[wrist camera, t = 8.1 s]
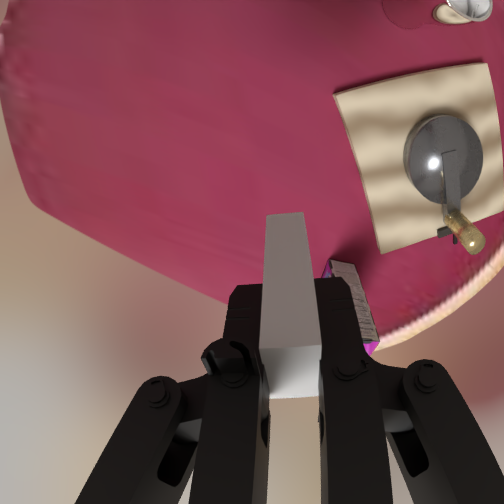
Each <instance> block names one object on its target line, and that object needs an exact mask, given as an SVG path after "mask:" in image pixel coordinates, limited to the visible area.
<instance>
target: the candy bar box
mask: <svg viewBox="0 0 504 504" xmlns="http://www.w3.org/2000/svg"><path fill="white" fill-rule="evenodd" d="M339 276H341V277H342V278H343V279H344V280H345V281H346V283H347V284H348V285H349V286H350V289H351V293H352V297H353V301H354V305H355V310H356V313H357V318H358V322H359V326H360V331H361V335H362V339H363V344H364V347H365V350H366V352H367V353H368V355H369V356H370V355H371V354H372V353H373V351H374V350H375V348H376V347H377V346H378V344H379V343H380V340H379V337H378V333H377V330H376V327H375V323H374V320H373V317H372V314H371V311H370V308H369V305H368V302H367V299H366V296H365V292H364V290H363V287H362V284H361V281H360V278H359V275H358V272H357V269H356V267H355V264H351V263H346V262H340V261H335V260H330V259H329V260H328V262H327V264H326V267H325V270H324V273H323V275H322V278H328V277H339Z"/></svg>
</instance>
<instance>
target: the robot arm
mask: <svg viewBox="0 0 504 504" xmlns="http://www.w3.org/2000/svg"><path fill="white" fill-rule="evenodd" d="M201 360H202V362H203V364H204V366H205V368H206V370H207V372H208V373H207V374H205V375H203V376H201V377H198V378H195V379H191V380H187V381H184V382H179V383H177V382H176V381H175V380H173V379H172V378H169V377H166V376H157V377H153V378H151V379H149V380H147V381H146V382H144V383H143V384H142V386H141V387H140V388H139V389H138V391H137V392H136V394H135V396H134V398H133V399H132V401H131V403H130V405H129V406H128V408H127V410H126V411H125V413H124V415H123V417H122V419H121V420H120V422H119V424H118V426H117V427H116V429H115V431H114V433H113V435H112V436H111V438H110V440H109V442H108V443H107V445H106V447H105V449H104V451H103V452H102V454H101V456H100V458H99V460H98V461H97V463H96V465H95V467H94V469H93V470H92V473H91V474H90V476H89V478H88V480H87V482H86V484H85V485H84V487H83V489H82V491H81V493H80V495H79V497H78V499H77V500H76V502H75V504H178V502H179V500H180V498H181V496H182V494H183V491H184V489H185V487H186V485H187V482H188V480H189V478H190V476H191V473H192V471H193V469H194V471H193V478H192V484H191V491H190V497H189V504H266V503H267V484H268V483H267V482H268V465H269V463H268V462H269V442H270V417H271V415H270V410H269V395H270V398H272V399H275V398H295V397H310V396H319V416H318V422H319V428H320V456H321V504H393V496H392V486H391V476H390V466H389V457H388V449H387V442H386V437H387V439H388V442H389V444H390V446H391V449H392V451H393V453H394V456H395V458H396V460H397V463H398V465H399V468H400V470H401V473H402V475H403V477H404V480H405V482H406V485H407V487H408V490H409V492H410V495H411V497H412V500H413V502H414V504H504V476H503V474H502V471H501V469H500V467H499V465H498V463H497V461H496V459H495V456H494V454H493V453H492V450H491V448H490V446H489V445H488V443H487V440H486V439H485V437H484V435H483V433H482V431H481V429H480V427H479V425H478V423H477V422H476V420H475V418H474V416H473V414H472V413H471V411H470V409H469V407H468V405H467V404H466V402H465V400H464V399H463V397H462V395H461V393H460V392H459V390H458V388H457V387H456V385H455V384H454V382H453V380H452V379H451V377H450V375H449V374H448V372H447V370H445V368H444V367H443V366H442V365H441V364H439V363H437V362H435V361H433V360H427V359H423V360H418V361H415V362H414V363H412V364H411V365H409V366H408V368H399V367H392V366H387V365H383V364H380V363H378V362H376V361H375V360H373V359H372V358H371V357H370V356H369V355H368V353H367V352H366V350H365V347H364V344H363V339H362V335H361V331H360V326H359V322H358V318H357V313H356V310H355V305H354V301H353V297H352V293H351V289H350V286H349V285H348V284H347V283H346V281H345V280H344V279H343V278H342V277H341V276H339V277H328V278H316V279H314V278H313V271H312V264H311V258H310V251H309V244H308V238H307V232H306V226H305V220H304V214H303V212H296V213H285V214H274V215H267V217H266V236H265V255H264V273H263V284H249V285H237V287H236V288H235V289H234V291H233V292H232V294H231V295H230V297H229V303H228V310H227V315H226V321H225V327H224V333H223V338H220V339H219V340H216V341H215V342H212V343H211V344H210V345H209V346H208V347H207V348H206V349H205V350H204V352H203V354H202V356H201Z"/></svg>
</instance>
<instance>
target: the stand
mask: <svg viewBox="0 0 504 504" xmlns="http://www.w3.org/2000/svg"><path fill="white" fill-rule="evenodd" d="M333 97H334V99H335V102H336V105H337V107H338V110H339V113H340V116H341V118H342V121H343V124H344V127H345V130H346V133H347V136H348V139H349V142H350V145H351V148H352V151H353V154H354V158H355V161H356V164H357V167H358V171H359V174H360V178H361V181H362V185H363V188H364V192H365V196H366V199H367V203H368V207H369V211H370V215H371V219H372V223H373V228H374V232H375V236H376V241H377V246H378V249H379V251H380V253H381V254H384V253H387V252H390V251H393V250H396V249H399V248H402V247H405V246H408V245H411V244H414V243H417V242H420V241H422V240H425V239H428V238H431V237H434V236H438V237H439V238H441V237H444V236H447V235H449V234H452V233H453V232H452V231H451V230H450V229H449V228H448V227H447V226H446V225H445V224H444V222H443V209H442V204H437V203H434V202H431V201H429V200H428V199H426V198H425V197H424V196H423V195H422V194H421V193H420V192H419V191H418V190H417V189H416V188H415V187H414V186H413V185H412V184H411V182H410V181H409V179H408V177H407V175H406V172H405V168H404V162H403V154H404V147H405V143H406V140H407V138H408V136H409V133H410V132H411V130H412V129H413V127H414V126H415V125H416V124H417V123H418V122H419V121H420V120H422V119H423V118H425V117H427V116H429V115H433V114H448V115H451V116H453V117H456V118H458V119H461V120H463V121H465V122H466V123H468V124H469V125H470V126H471V127H472V128H473V129H474V130H475V132H476V133H477V135H478V137H479V139H480V142H481V145H482V149H483V166H482V171H481V174H480V177H479V179H478V181H477V183H476V185H475V186H474V188H473V189H472V190H471V191H470V193H469V194H467V195H466V196H465V197H464V198H462V199H461V212H462V213H463V214H464V215H465V216H466V217H467V218H468V219H469V221H470V222H471V223H472V222H475V221H478V220H480V219H483V218H486V217H488V216H491V215H493V214H496V213H499V212H501V211H503V208H504V182H503V159H502V147H501V136H500V128H499V120H498V114H497V107H496V102H495V96H494V91H493V86H492V82H491V77H490V73H489V69H488V65H487V63H480V62H479V63H471V64H463V65H456V66H450V67H444V68H438V69H432V70H427V71H422V72H417V73H412V74H407V75H403V76H398V77H394V78H390V79H385V80H381V81H377V82H374V83H370V84H366V85H362V86H359V87H355V88H352V89H348V90H345V91H341V92H338V93H335V94H333Z"/></svg>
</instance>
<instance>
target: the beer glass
mask: <svg viewBox="0 0 504 504" xmlns="http://www.w3.org/2000/svg"><path fill="white" fill-rule="evenodd" d="M382 4H383V9H384V12H385V14H386V15H387V17H388V18H389V19H390V20H391V21H392V22H393V23H394V24H396V25H397V26H399V27H401V28H405V29H416V28H418V27H420V26H421V25H423V24H432V25H439V26H459V25H465V24H470V23H474V22H480V21H484V20H486V19H487V18H488V17H489V16H490V14H491V12H492V0H383V1H382Z"/></svg>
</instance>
